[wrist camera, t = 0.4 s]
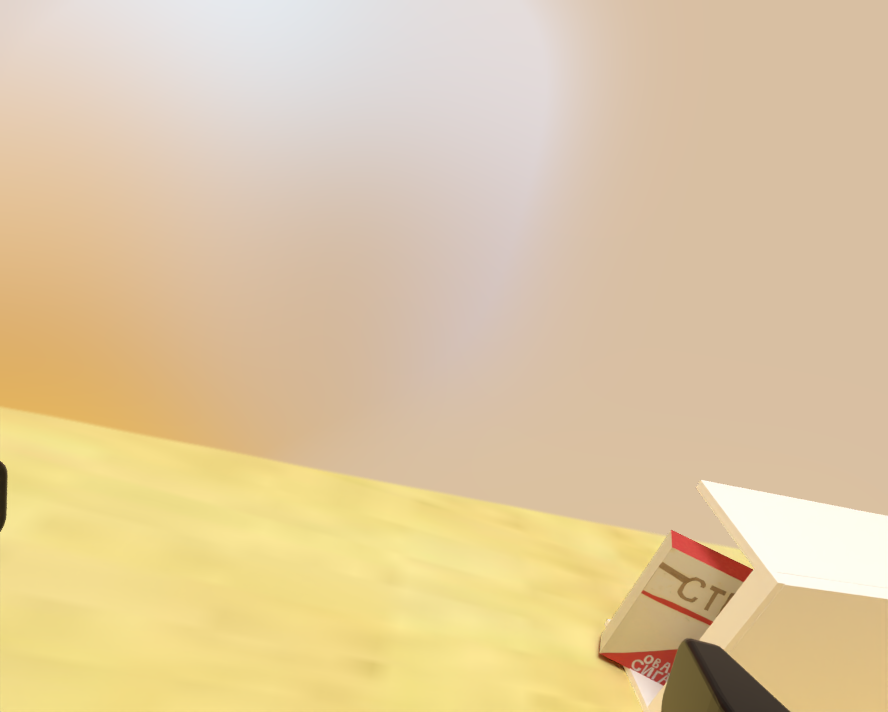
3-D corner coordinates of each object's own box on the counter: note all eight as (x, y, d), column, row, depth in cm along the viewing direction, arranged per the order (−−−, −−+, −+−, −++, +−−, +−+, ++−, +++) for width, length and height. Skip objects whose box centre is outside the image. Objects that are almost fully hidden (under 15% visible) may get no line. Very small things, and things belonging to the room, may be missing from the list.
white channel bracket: (879, 653, 38) (992, 535, 34) (959, 750, 34) (1101, 627, 30) (580, 622, 32) (676, 474, 28) (627, 736, 27) (749, 578, 23)
